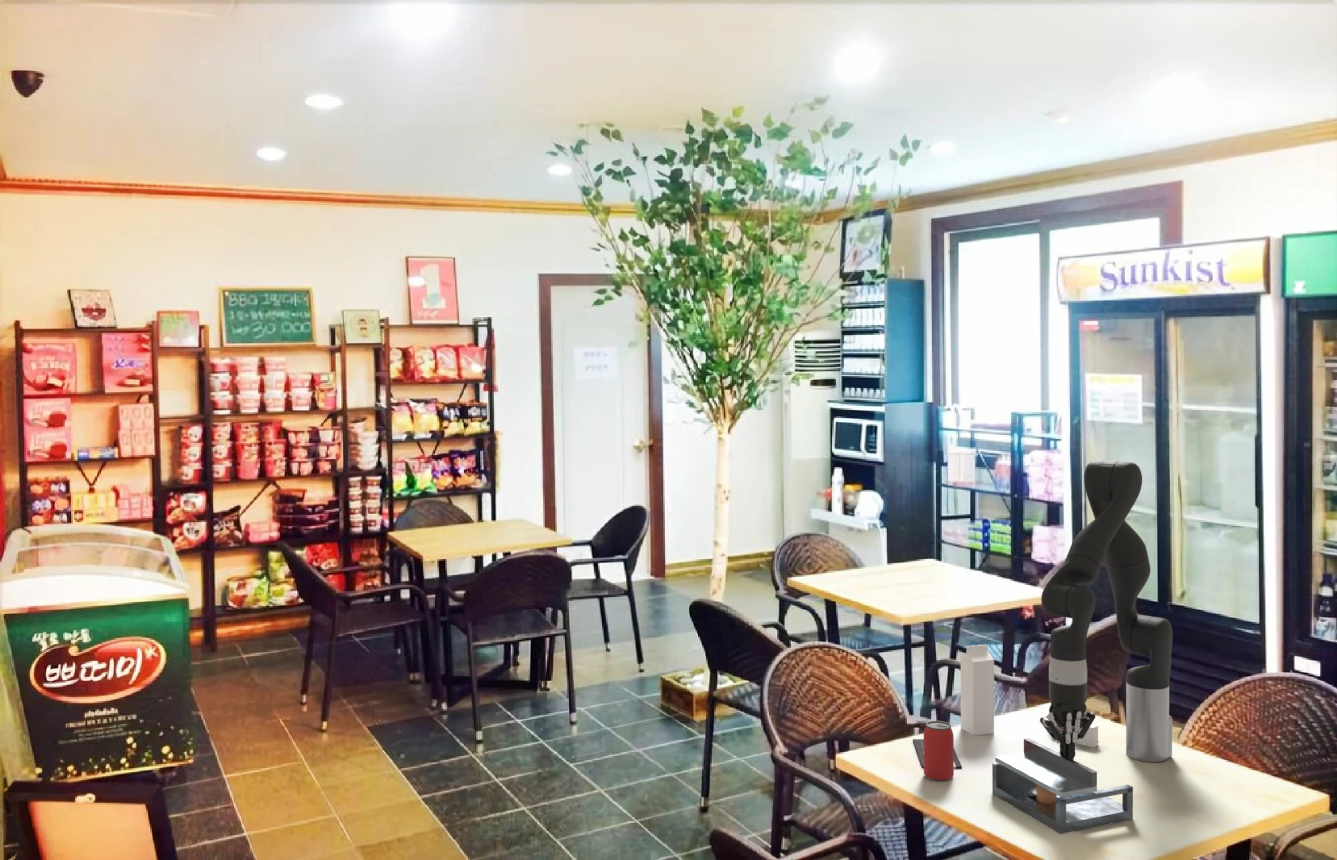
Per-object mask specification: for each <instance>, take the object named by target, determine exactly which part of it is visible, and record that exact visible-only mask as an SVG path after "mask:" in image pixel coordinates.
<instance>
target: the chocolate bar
mask: <svg viewBox="0 0 1337 860" xmlns="http://www.w3.org/2000/svg"><path fill="white" fill-rule="evenodd" d="M912 743H913V746H914V749H915V752H916V754H917V755H916V756H917V757H918V761H919V763H920V766H921V768H922V769H924V738H922V739H917V738H915V739H914V738H913V739H912ZM961 769H962V770H963V766H962V764H961V761H960V759H959V757H958V755H957V751H956V750H955V749H954V770H961Z"/></svg>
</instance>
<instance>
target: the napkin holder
mask: <svg viewBox="0 0 1337 860" xmlns="http://www.w3.org/2000/svg"><path fill="white" fill-rule="evenodd" d="M1055 723H1056V722H1055ZM1055 727H1056V724H1055ZM1081 729H1082V728H1081ZM1081 729H1080V731H1081ZM1080 731H1079V732H1080ZM1075 744H1079V745H1082V746H1086V747H1090V748H1096V747H1097V746H1099V725H1097V724H1094V723H1092V724H1091V726H1090V727H1089V729H1088V731H1087V733H1086V734H1085V736H1084V738H1083V739H1080V738H1079V739H1078V740H1077V742H1076V743H1075Z"/></svg>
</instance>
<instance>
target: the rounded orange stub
mask: <svg viewBox="0 0 1337 860" xmlns="http://www.w3.org/2000/svg"><path fill="white" fill-rule="evenodd" d="M1056 798H1057V795H1056V794H1054V793H1052V792H1050V791H1049V790H1047V789H1045V788H1043V787H1041V786H1039V785H1038V784H1037V803H1039V804H1041V805H1042V806H1044V807H1045V806H1051V805H1056Z"/></svg>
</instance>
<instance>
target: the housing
mask: <svg viewBox="0 0 1337 860" xmlns="http://www.w3.org/2000/svg"><path fill="white" fill-rule="evenodd" d="M1057 752H1058V753H1060V751H1057ZM991 767H992V768H991V769H992V770H991V771H992V774H991V775H992V776H991V777H992V779H991V780H992V785H991V786H992V788H991V791H992V792H991V793H992V795H994V796H995V797H997V798H999V799H1000V800H1002V801H1004V802H1006V803H1007V804H1009V805H1011V806H1012V807H1013V808H1016V809H1018V810H1019V811H1021V812H1023V813H1024V814H1026V815H1027V816H1029V817H1031V818H1032V819H1034V820H1036V821H1037V822H1039V823H1041V824H1043V825H1044V826H1046V827H1048V828H1050V829H1051V830H1053V831H1055V832H1056V833H1057V834H1059V835H1063V834H1068V833H1071V832H1072V833H1073V832H1077V831H1083V830H1087V829H1092V828H1097V827H1102V826H1107V825H1111V824H1112V825H1113V824H1116V823H1117V824H1118V823H1122V822H1127V821H1132V820H1134V814H1133V813H1134V786H1131V785H1130V784H1123V785H1117V786H1113V787H1108V788H1103V789H1097V791H1095V792H1090V793H1084V794H1079V795H1074V796H1068V797H1063V798H1061V797H1060V796H1058V795H1057V798H1056V805H1051V806H1045V807H1044V806H1042V805H1041V804H1039V803H1037V784H1036V783H1034V782H1032V781H1030V780H1028V779H1027V778H1025V777H1023V776H1021V775H1019V774H1017V773H1016V772H1014V771H1012V770H1010V769H1008V768H1006V767H1005V766H1003V765H1001V764H999V763H997V762H993V763H992V766H991ZM1119 795H1122V799H1121V800H1122V803H1121V802H1118V801H1117V800H1114V799H1112V798H1111V797H1113V796H1119Z"/></svg>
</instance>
